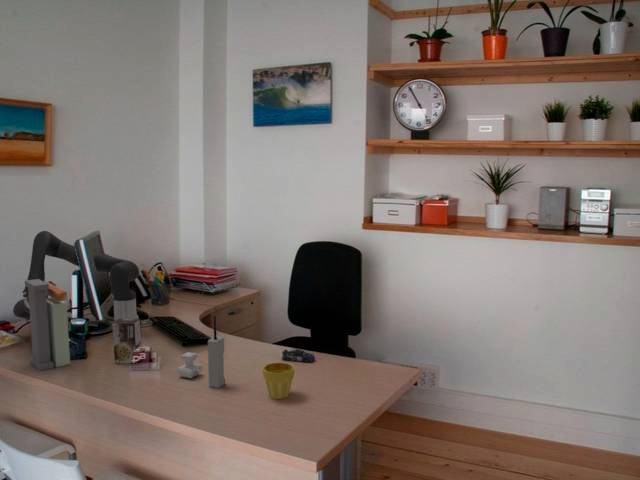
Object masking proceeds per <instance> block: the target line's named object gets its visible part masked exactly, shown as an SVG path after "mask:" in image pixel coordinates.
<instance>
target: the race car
mask: <svg viewBox="0 0 640 480" xmlns="http://www.w3.org/2000/svg"><path fill="white" fill-rule="evenodd" d="M281 354H282V357H281V359H282V360H283V361H285V362H297V363H305V364H308V363H309V364H310V363H311V364H312V363H313V362H314V360H315V359H316V358H315V357H316V356H315V355H314V354H313V353H309V352H306V351H304V350H301V349H299V348H297V349H294V348H293V349H290V350H287V349H284V350H283V351H282V353H281Z"/></svg>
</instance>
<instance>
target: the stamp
mask: <svg viewBox="0 0 640 480" xmlns="http://www.w3.org/2000/svg"><path fill="white" fill-rule="evenodd" d="M197 357H198V354H197V353H195V352H189V351H187V352H185V353H184V354H182V355H181V354H180V359H181V361H183V362H185V364H182V365H180V366H178V367H177V368H176V373H177V374H178V375H179V376H180V377H181V378H182V377H183V378H188V379H192V378H194V377H196V376H199V374H200V373H201V371H202V370H203V365H201V364H198V363H194V361H195V360H197Z"/></svg>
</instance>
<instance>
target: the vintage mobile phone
mask: <svg viewBox="0 0 640 480" xmlns="http://www.w3.org/2000/svg"><path fill="white" fill-rule="evenodd" d="M216 316H217V315H214V316H213V337H211V338H210V339H208V340H207V355H208V356H207V361H208V362H207V363H208V387H210V388H215V389H220V388H221V387H222V386H224V384H226V379H225V374H224V373H225V372H224V371H225V369H224V368H225V367H224V366H225V365H224V353H225V337H224V336H217V317H216Z"/></svg>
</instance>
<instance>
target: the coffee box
mask: <svg viewBox="0 0 640 480" xmlns="http://www.w3.org/2000/svg"><path fill="white" fill-rule="evenodd" d="M141 321H142V320H141V318H139V319H118V320H116V321H115V320H114V321H113V322H112V323H111V324H112V325H111V327H112V338H113V339H112V340H113V354H114V355H113V356H114V364H128V365H129V364H130V362H131V357H132V353H133V351H134V350H136V349H137V348H139V347H142V348H143V342H142V324H141V323H142V322H141Z"/></svg>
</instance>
